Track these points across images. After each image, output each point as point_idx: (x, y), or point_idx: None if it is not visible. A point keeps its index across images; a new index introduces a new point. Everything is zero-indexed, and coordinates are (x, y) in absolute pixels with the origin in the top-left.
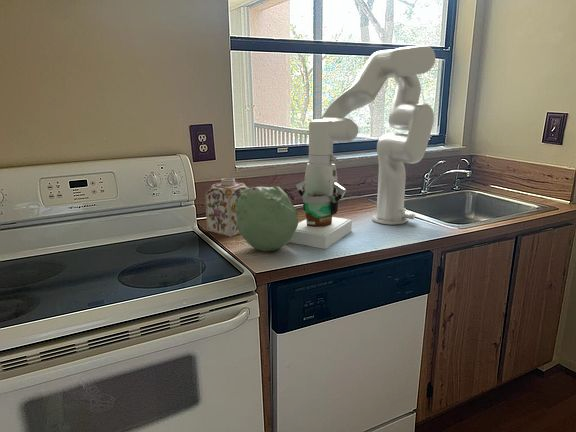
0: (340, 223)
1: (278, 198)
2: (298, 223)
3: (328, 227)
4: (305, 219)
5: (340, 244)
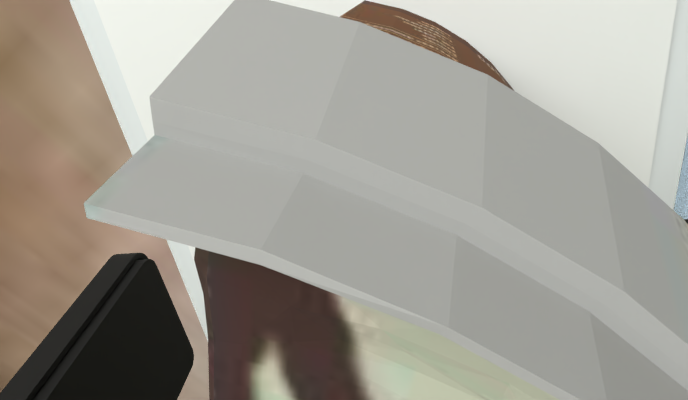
0: (649, 26)
1: None
2: (186, 269)
3: None
4: (117, 115)
5: (684, 208)
